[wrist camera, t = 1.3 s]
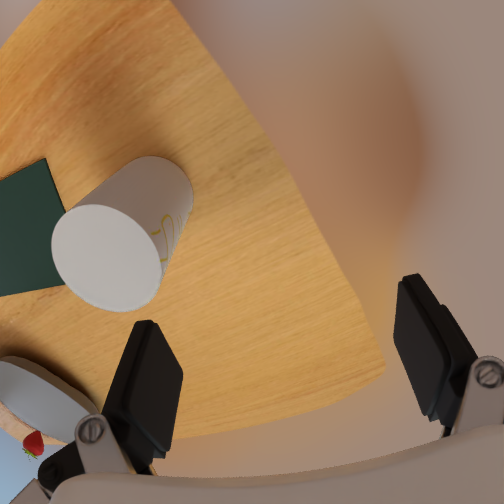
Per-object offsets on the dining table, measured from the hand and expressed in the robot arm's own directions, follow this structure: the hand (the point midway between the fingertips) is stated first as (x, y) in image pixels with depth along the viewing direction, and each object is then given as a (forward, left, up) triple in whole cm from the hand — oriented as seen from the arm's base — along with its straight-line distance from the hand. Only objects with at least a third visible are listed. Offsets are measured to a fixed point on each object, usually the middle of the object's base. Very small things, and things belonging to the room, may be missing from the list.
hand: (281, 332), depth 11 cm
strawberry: (+50, -70, -20) cm, 88 cm away
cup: (0, -11, -20) cm, 23 cm away
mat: (0, -33, -20) cm, 39 cm away
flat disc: (+31, -49, -20) cm, 61 cm away
